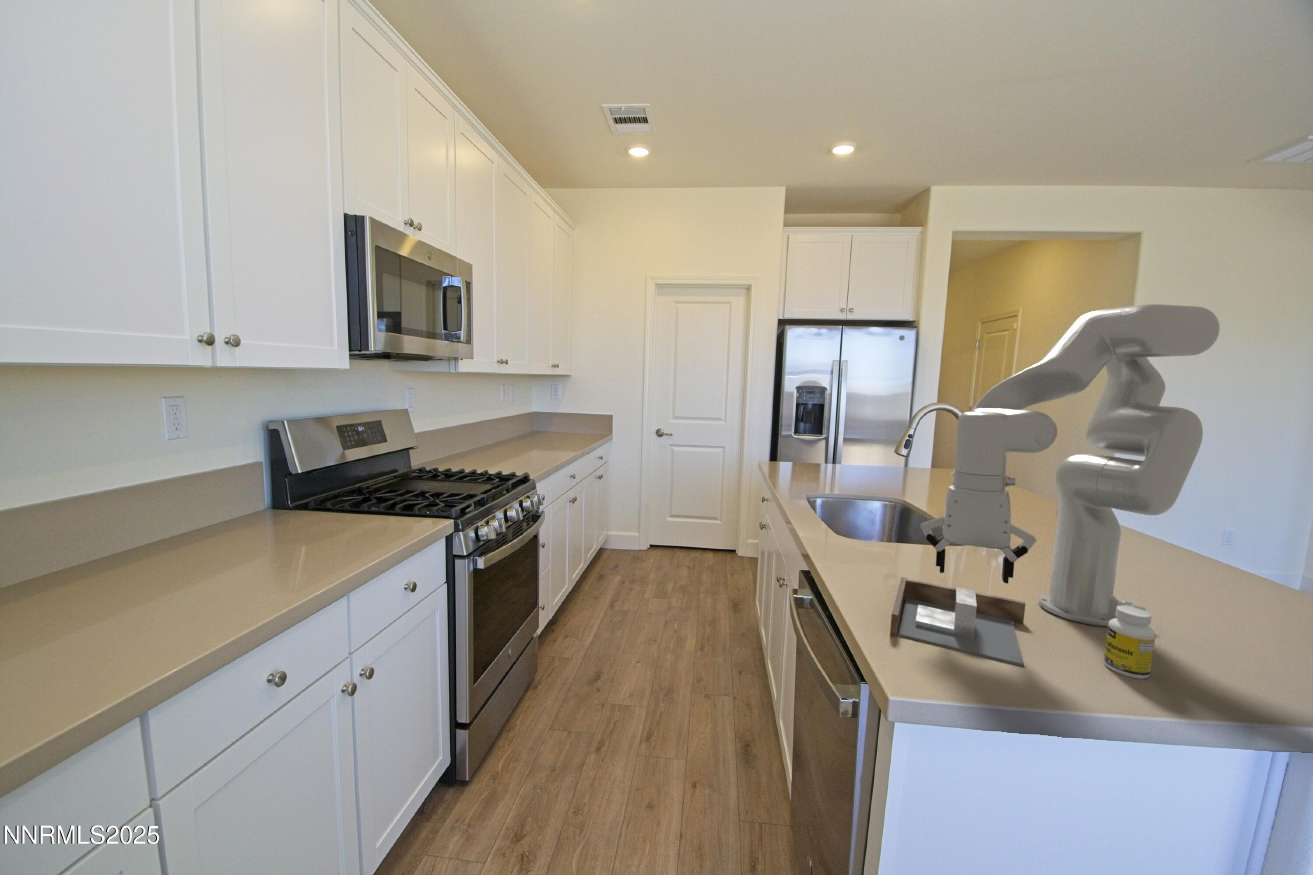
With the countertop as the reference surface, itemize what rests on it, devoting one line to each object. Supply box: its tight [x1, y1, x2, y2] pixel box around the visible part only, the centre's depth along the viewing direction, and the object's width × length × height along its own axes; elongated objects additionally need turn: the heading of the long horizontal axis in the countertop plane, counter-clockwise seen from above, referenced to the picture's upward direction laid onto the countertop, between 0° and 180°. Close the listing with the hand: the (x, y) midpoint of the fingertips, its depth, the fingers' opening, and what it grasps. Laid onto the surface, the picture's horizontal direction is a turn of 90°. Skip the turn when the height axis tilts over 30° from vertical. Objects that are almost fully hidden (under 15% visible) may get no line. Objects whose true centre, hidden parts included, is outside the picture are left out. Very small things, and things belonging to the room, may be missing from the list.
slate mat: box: [898, 598, 1025, 667], centre depth 92 cm, size 18×18×1 cm
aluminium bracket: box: [915, 586, 977, 639], centre depth 93 cm, size 8×9×6 cm
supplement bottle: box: [1103, 606, 1156, 680], centre depth 79 cm, size 5×5×10 cm
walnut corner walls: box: [889, 576, 1026, 638], centre depth 92 cm, size 21×21×4 cm
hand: (972, 575), depth 91 cm, fingers open, 9 cm apart
